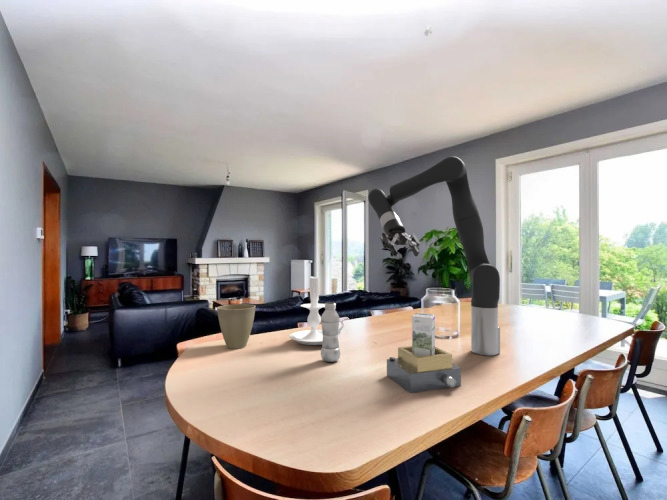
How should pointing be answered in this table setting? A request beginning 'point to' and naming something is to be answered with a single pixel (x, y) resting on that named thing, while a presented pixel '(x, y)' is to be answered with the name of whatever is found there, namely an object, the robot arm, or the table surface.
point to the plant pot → (236, 324)
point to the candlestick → (312, 318)
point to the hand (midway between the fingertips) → (406, 254)
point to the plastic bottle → (330, 333)
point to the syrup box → (423, 334)
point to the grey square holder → (423, 370)
